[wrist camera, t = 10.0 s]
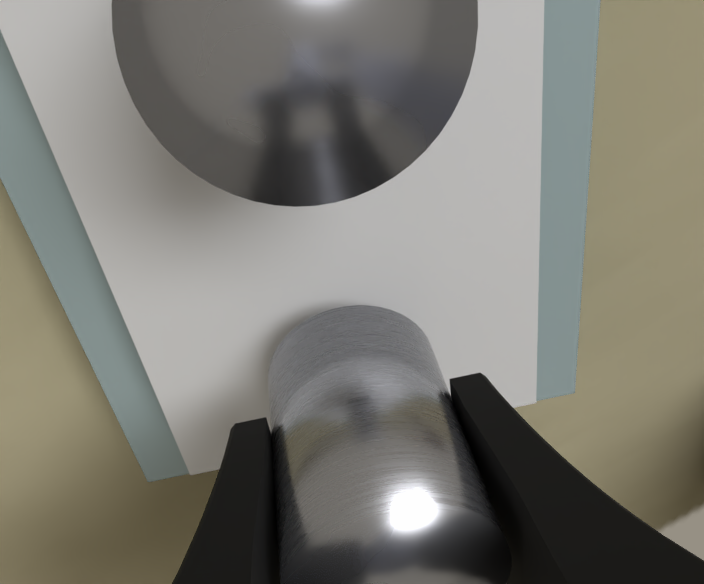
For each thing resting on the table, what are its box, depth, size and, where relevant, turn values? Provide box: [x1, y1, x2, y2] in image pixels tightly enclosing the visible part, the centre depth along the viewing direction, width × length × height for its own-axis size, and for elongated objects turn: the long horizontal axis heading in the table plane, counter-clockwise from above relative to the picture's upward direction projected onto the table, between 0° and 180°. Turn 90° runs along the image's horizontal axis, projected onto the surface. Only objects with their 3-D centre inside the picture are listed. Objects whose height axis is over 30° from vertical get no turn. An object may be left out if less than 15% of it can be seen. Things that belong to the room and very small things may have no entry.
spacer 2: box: [268, 305, 512, 584], centre depth 12 cm, size 4×4×5 cm
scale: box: [0, 0, 600, 482], centre depth 13 cm, size 20×12×3 cm, turn 8°
